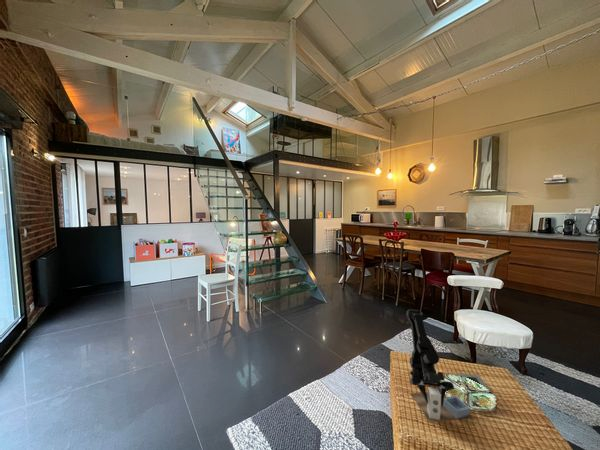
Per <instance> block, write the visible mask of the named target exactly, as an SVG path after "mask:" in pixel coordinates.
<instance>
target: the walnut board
mask: <svg viewBox="0 0 600 450" xmlns="http://www.w3.org/2000/svg"><path fill="white" fill-rule="evenodd" d="M409 395H410V396H411V397H412V399H413V400H414V402H415V403H416V404H417V406H418V407H419V409H420V410H421V412H422V413H423V415H424V416H425V417H426V419H427V420H428V421H429V423H438V422H449V421H457V420H467V419H468V420H469V419H473V418H474V416H472V415H471V414H470V415H468V416H464V417H461V418H458V419H456V418H455V417H454V416H453V415H452V414H451V413H450V412H449V411H448V410H447V409H446V408H445V407H444V406H441V407H440V420H437V419H432V418H429V415H428V412H427V403H426V401H425V399H424V397H423V395H422V393H421V392H412V393H409ZM426 395H427V397H428V391H426ZM444 398H447V397H446V396H445V395H444Z"/></svg>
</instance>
